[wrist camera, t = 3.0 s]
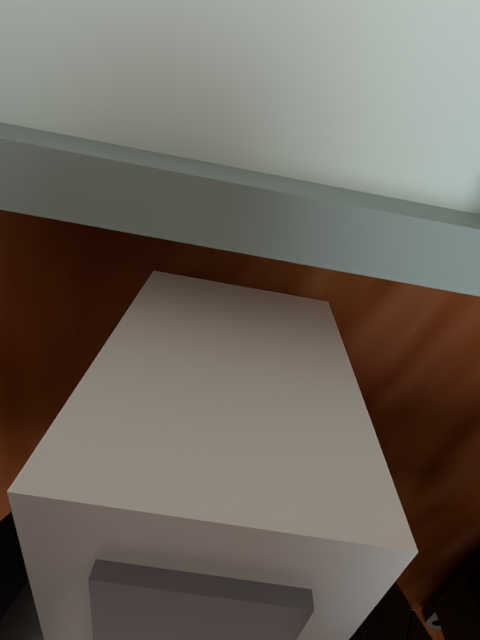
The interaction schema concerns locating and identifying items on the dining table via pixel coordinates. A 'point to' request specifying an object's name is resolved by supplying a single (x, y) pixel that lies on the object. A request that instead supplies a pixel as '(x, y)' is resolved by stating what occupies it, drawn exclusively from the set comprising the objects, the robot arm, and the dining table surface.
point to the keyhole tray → (253, 127)
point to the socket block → (211, 479)
